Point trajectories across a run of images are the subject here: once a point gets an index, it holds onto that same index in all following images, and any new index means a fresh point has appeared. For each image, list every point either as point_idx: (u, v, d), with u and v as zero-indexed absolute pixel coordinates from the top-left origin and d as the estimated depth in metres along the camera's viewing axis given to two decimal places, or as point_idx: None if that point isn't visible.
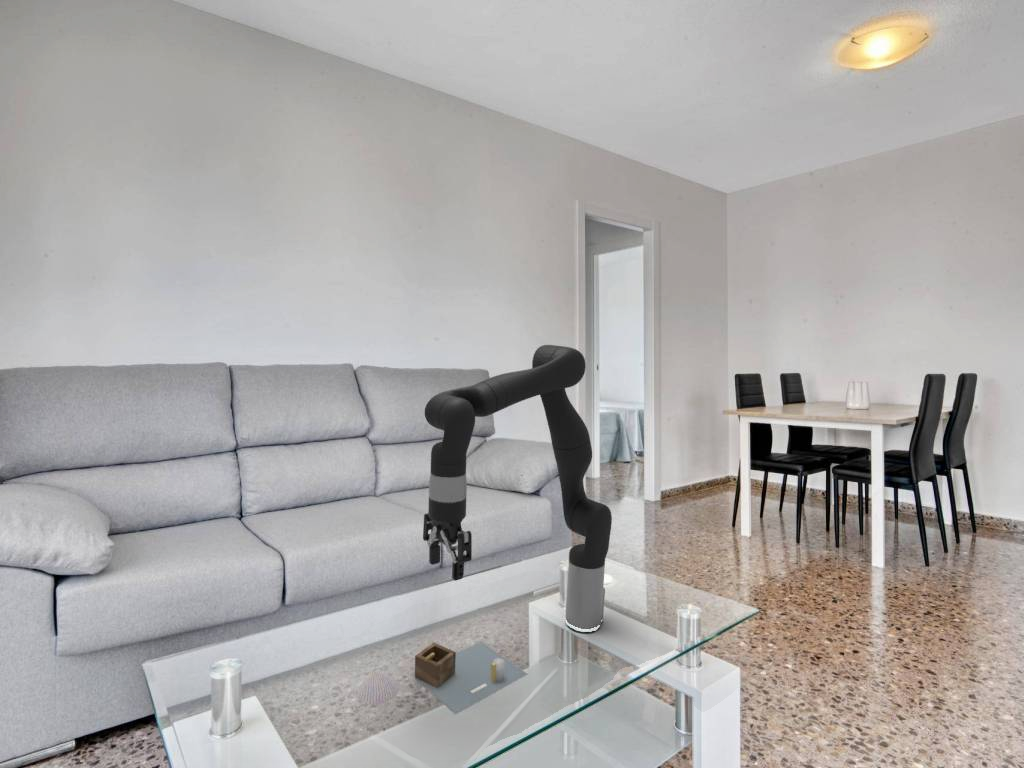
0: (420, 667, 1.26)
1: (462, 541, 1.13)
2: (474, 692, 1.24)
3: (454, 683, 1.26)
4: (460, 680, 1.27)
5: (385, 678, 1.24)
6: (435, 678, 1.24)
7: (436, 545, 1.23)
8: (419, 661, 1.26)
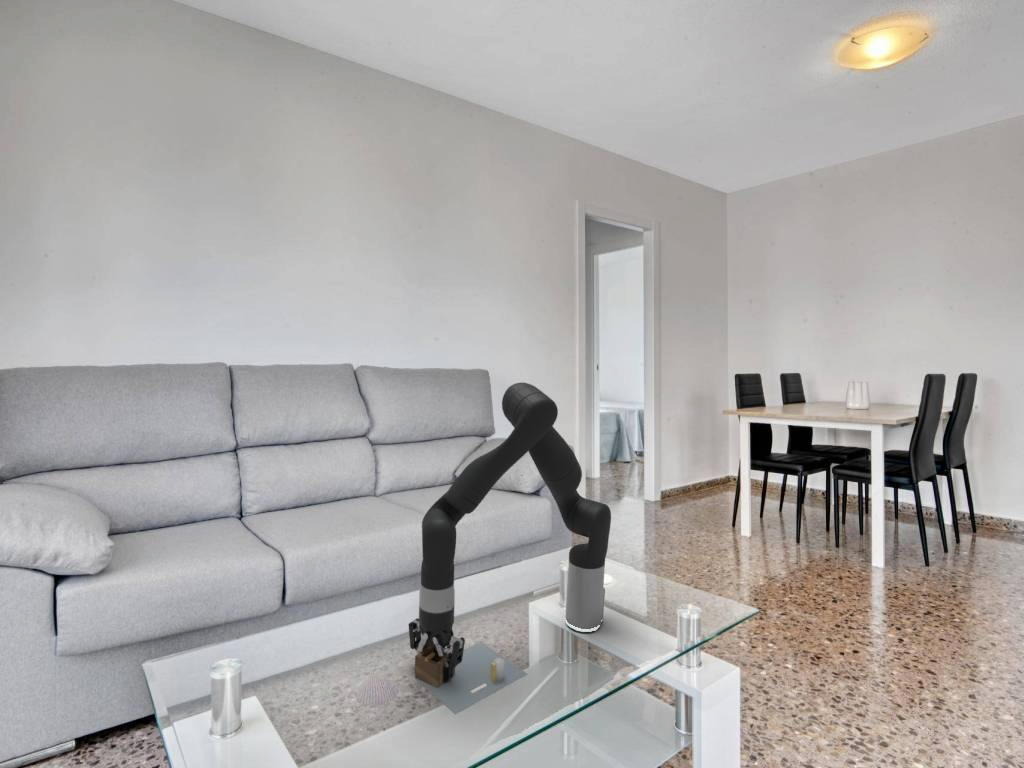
0: (420, 667, 1.26)
1: None
2: (474, 692, 1.24)
3: (454, 683, 1.26)
4: (460, 680, 1.27)
5: (384, 680, 1.23)
6: (435, 678, 1.24)
7: None
8: (419, 661, 1.26)
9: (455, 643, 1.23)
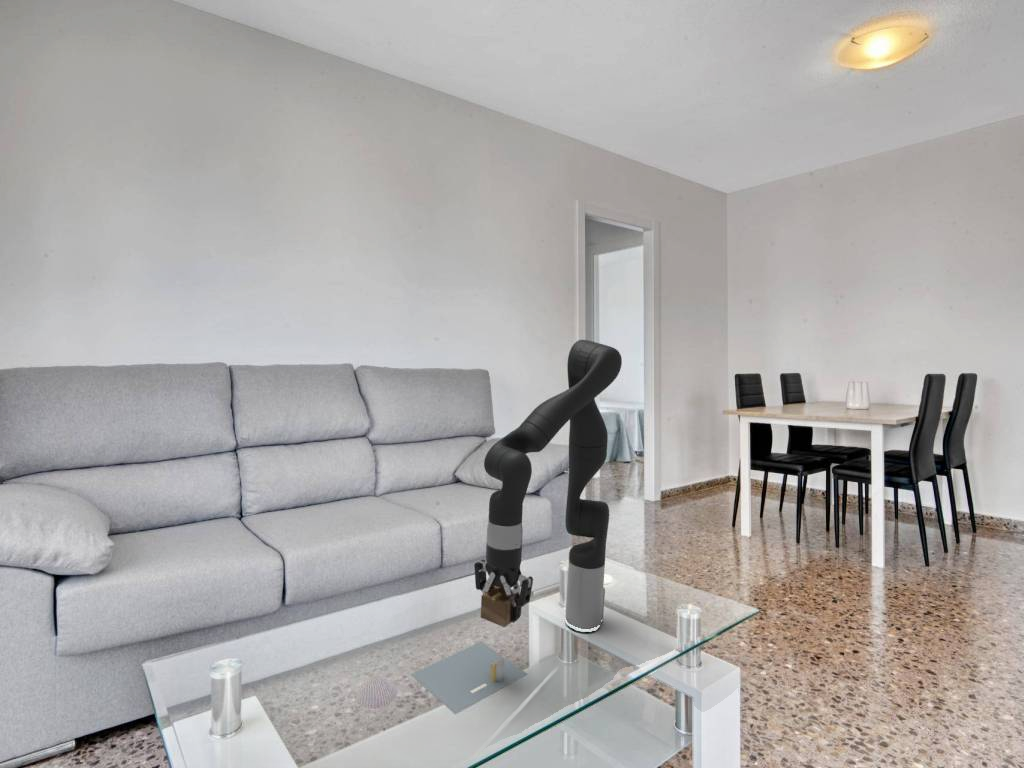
0: (486, 607, 1.24)
1: None
2: (474, 692, 1.24)
3: (454, 683, 1.26)
4: (460, 680, 1.27)
5: (383, 682, 1.22)
6: (502, 617, 1.22)
7: None
8: (486, 601, 1.24)
9: (524, 581, 1.21)
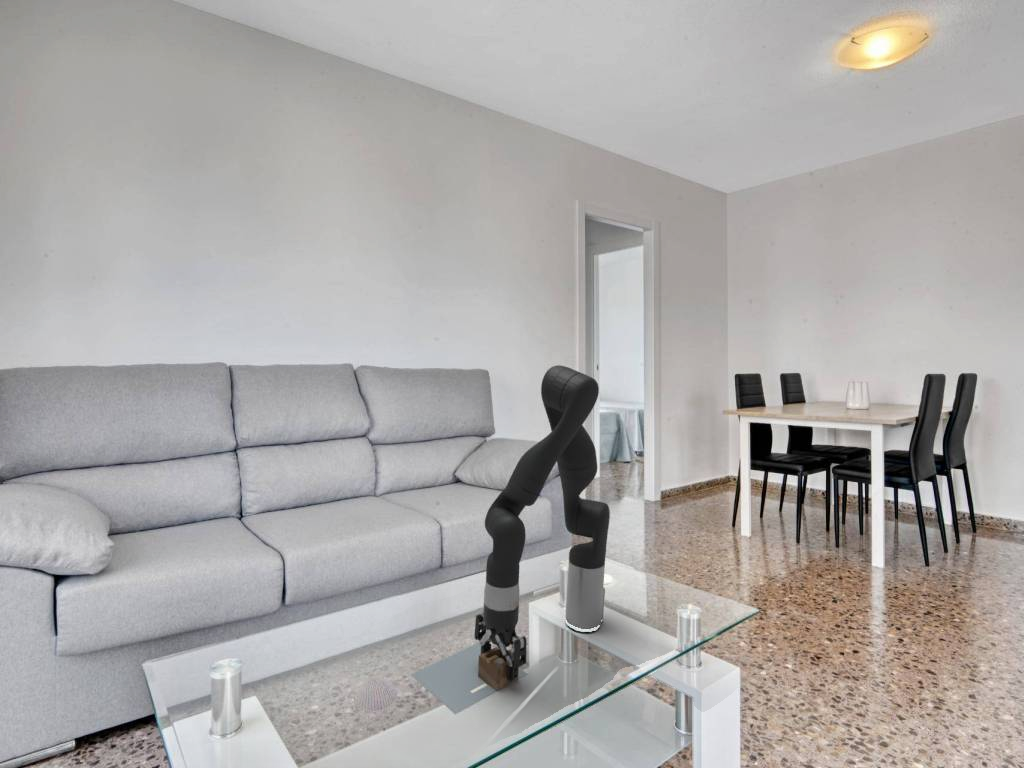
0: (482, 668, 1.27)
1: None
2: (474, 692, 1.24)
3: (454, 683, 1.26)
4: (460, 680, 1.27)
5: (383, 684, 1.22)
6: (495, 681, 1.24)
7: None
8: (482, 662, 1.27)
9: (515, 641, 1.22)
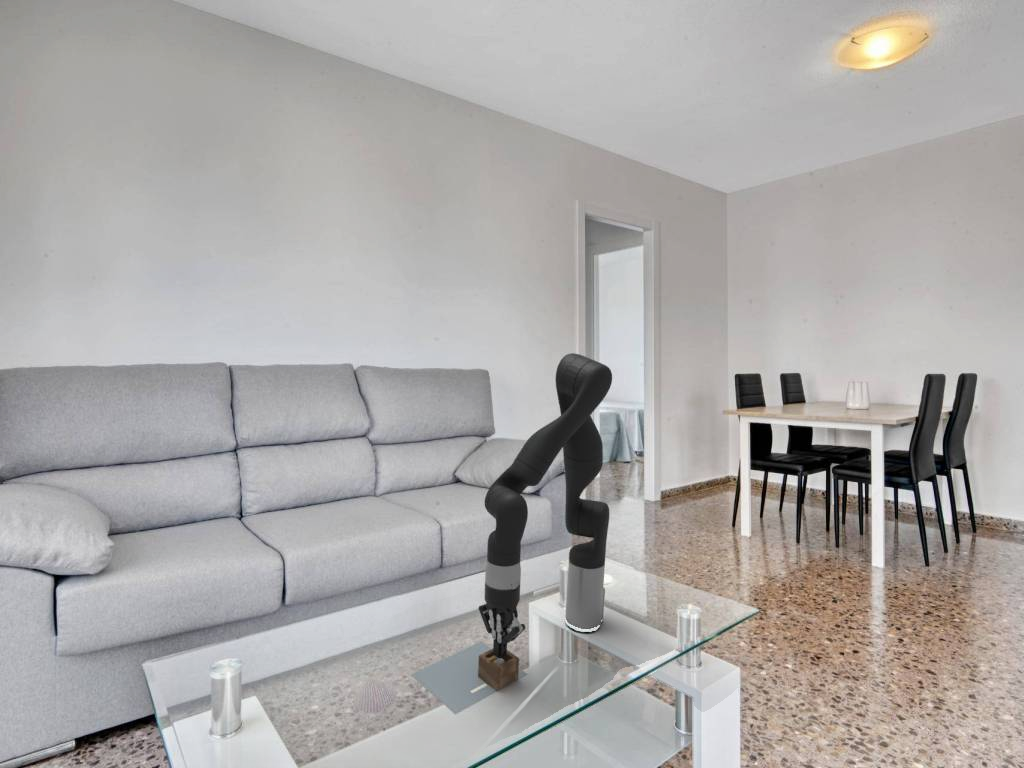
0: (482, 668, 1.27)
1: None
2: (474, 692, 1.24)
3: (454, 683, 1.26)
4: (460, 680, 1.27)
5: (382, 686, 1.21)
6: (495, 681, 1.24)
7: None
8: (482, 662, 1.27)
9: (515, 629, 1.21)
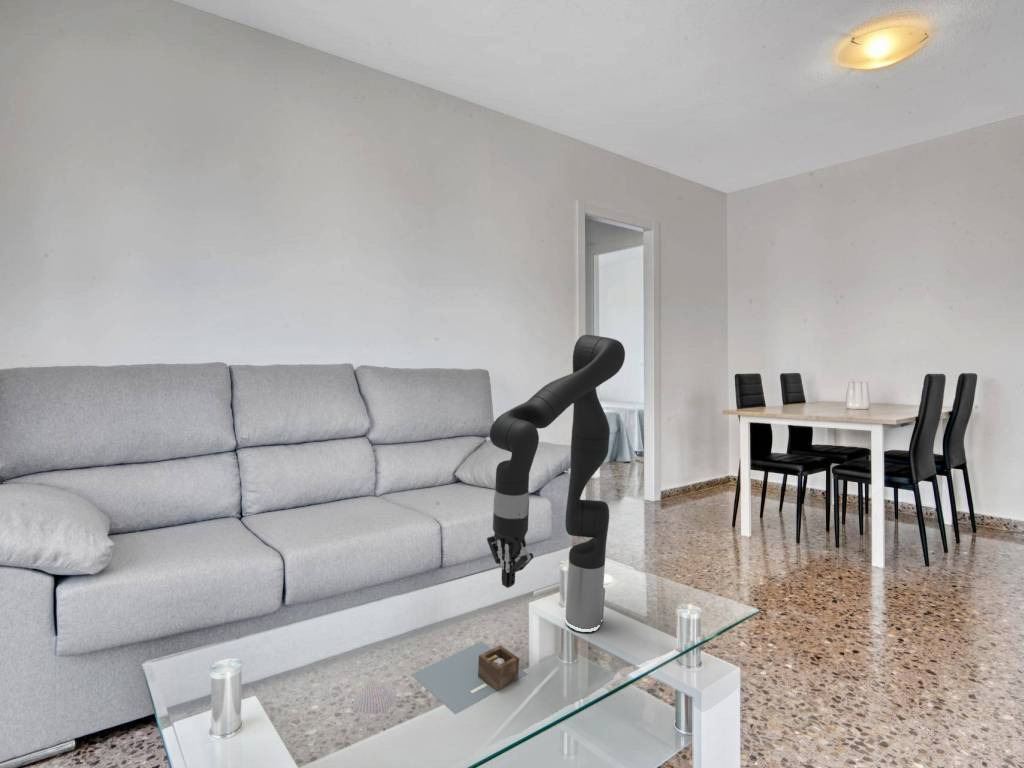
0: (482, 668, 1.27)
1: None
2: (474, 692, 1.24)
3: (454, 683, 1.26)
4: (460, 680, 1.27)
5: (381, 687, 1.21)
6: (495, 681, 1.24)
7: None
8: (482, 662, 1.27)
9: (523, 557, 1.22)
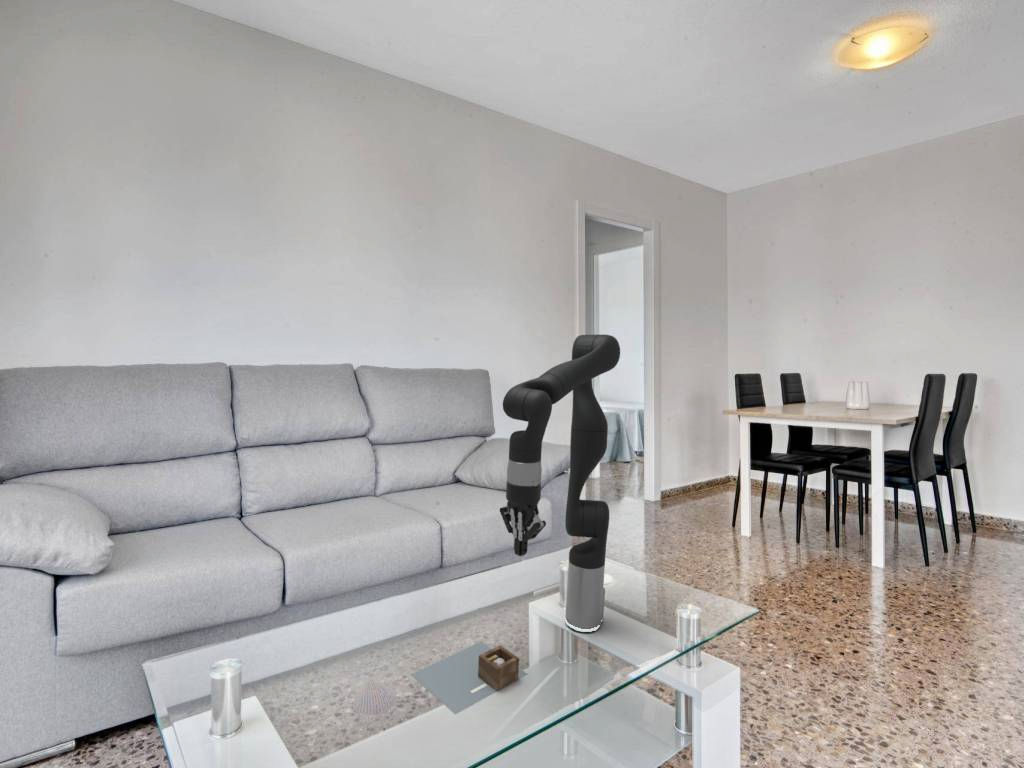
0: (482, 668, 1.27)
1: None
2: (474, 692, 1.24)
3: (454, 683, 1.26)
4: (460, 680, 1.27)
5: (381, 688, 1.21)
6: (495, 681, 1.24)
7: None
8: (482, 662, 1.27)
9: (536, 524, 1.25)
